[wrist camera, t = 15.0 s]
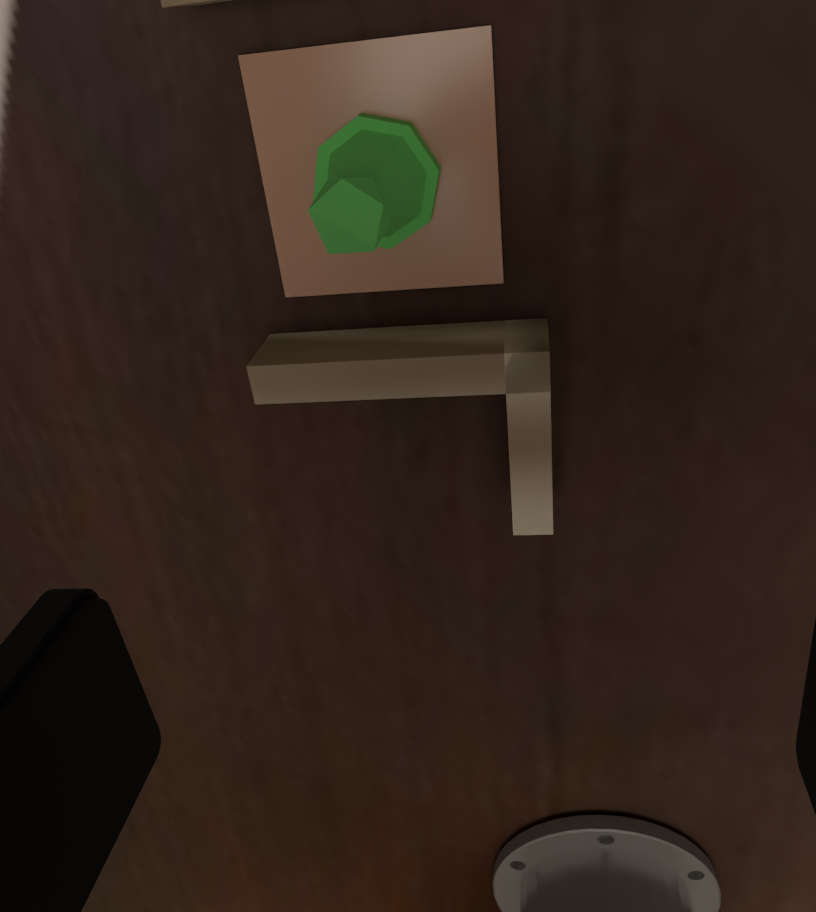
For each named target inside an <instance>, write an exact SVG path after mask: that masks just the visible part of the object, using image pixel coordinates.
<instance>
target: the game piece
mask: <svg viewBox="0 0 816 912" xmlns="http://www.w3.org/2000/svg"><path fill="white" fill-rule="evenodd" d="M440 169H441V166H440V164H439V163H438V161H437V160H436V158H435V157H434V155H433V154H432V152H431V150H430V149H429V147H428V146H427V144H426V143H425V141H424V140H423V138H422V137H421V135H420V134H419V132H418V131H417V129H416V128H415V126H414V125H413V123H412V122H408V121H403V120H398V119H393V118H387V117H382V116H377V115H372V114H367V113H361V114H359V115H358V116H357V117H356V118H354V119H353V120H352V121H351V122H349V123H348V124H347V125H346V126H344V127H343V128H342V129H341V130H339V131H338V132H337V133H336V134H334V135H333V136H332V137H331V138H329V139H328V140H327V141H326V142H324V143H323V144H322V145H321V146H319V147H318V152H317V163H316V174H315V185H314V196H313V200H314V201H313V203H312V204H311V206H310V207H309V209H308V212H309V214H310V216H311V218H312V220H313V222H314V225H315V227H316V229H317V231H318V233H319V235H320V237H321V239H322V241H323V243H324V246H325V248H326V250H327V252H328V254H340V253H357V252H374V251H375V249H376V247H381V248H386V249H392V248H393V247H395V246H396V245H398V244H399V243H401V242H402V241H403V240H405V239H406V238H408V237H409V236H411V235H412V234H414V233H415V232H416V231H418V230H419V229H421V228H422V227H424V226H425V225H426V224H428V223H429V222H430V221H431V218H432V215H433V209H434V204H435V198H436V192H437V186H438V180H439V175H440Z"/></svg>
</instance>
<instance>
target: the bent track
mask: <svg viewBox="0 0 816 912" xmlns="http://www.w3.org/2000/svg"><path fill="white" fill-rule="evenodd" d="M226 1H233V0H161V4H162V7H176V6H191V5H203V4H211V3H218V2H226ZM238 58H239V63H240V68H241V74H242V79H243V84H244V89H245V94H246V99H247V104H248V109H249V114H250V119H251V124H252V130H253V135H254V140H255V145H256V150H257V155H258V160H259V165H260V170H261V175H262V180H263V186H264V191H265V196H266V201H267V206H268V211H269V216H270V221H271V226H272V231H273V236H274V242H275V247H276V252H277V257H278V262H279V267H280V272H281V277H282V282H283V287H284V292H285V297H300V296H315V295H331V294H346V293H361V292H377V291H392V290H408V289H423V288H438V287H454V286H469V285H484V284H500V283H504V274H503V254H502V233H501V213H500V192H499V171H498V151H497V130H496V110H495V89H494V69H493V48H492V27H491V25H486V26H477V27H469V28H461V29H452V30H444V31H436V32H427V33H419V34H411V35H402V36H394V37H385V38H377V39H369V40H360V41H352V42H344V43H335V44H327V45H318V46H310V47H302V48H293V49H285V50H277V51H268V52H260V53H252V54H243V55H238ZM361 113H367V114H372V115H377V116H382V117H387V118H393V119H398V120H403V121H408V122H412V123H413V125H414V126H415V128H416V129H417V131H418V132H419V134H420V135H421V137H422V138H423V140H424V141H425V143H426V144H427V146H428V147H429V149H430V150H431V152H432V154H433V155H434V157H435V158H436V160H437V161H438V163H439V164H440V166H441V169H440V175H439V180H438V186H437V192H436V198H435V204H434V209H433V215H432V218H431V221H430V222H429V223H428V224H426V225H425V226H424V227H422V228H421V229H419V230H418V231H416V232H415V233H414V234H412V235H411V236H409V237H408V238H406V239H405V240H403V241H402V242H401V243H399V244H398V245H396V246H395V247H393V248H392V249H386V248H381V247H376V249H375V251H374V252H357V253H340V254H328V252H327V250H326V248H325V246H324V243H323V241H322V239H321V237H320V235H319V233H318V231H317V229H316V227H315V225H314V222H313V220H312V218H311V216H310V214H309V212H308V209H309V207H310V206H311V204H312V203H313V201H314V200H313V196H314V185H315V174H316V163H317V152H318V147H319V146H321V145H322V144H323V143H324V142H326V141H327V140H328V139H329V138H331V137H332V136H333V135H334V134H336V133H337V132H338V131H339V130H341V129H342V128H343V127H344V126H346V125H347V124H348V123H349V122H351V121H352V120H353V119H354V118H356V117H357V116H358V115H359V114H361ZM246 367H247V372H248V376H249V380H250V385H251V389H252V393H253V397H254V402H255V404H278V403H302V402H326V401H350V400H374V399H398V398H422V397H445V396H469V395H493V394H506V403H507V423H508V443H509V462H510V482H511V501H512V521H513V535H553V495H552V442H551V389H550V347H549V333H548V319H547V318H538V319H521V320H503V321H486V322H468V323H451V324H433V325H416V326H398V327H381V328H364V329H346V330H329V331H311V332H294V333H276V334H269V336H268V337H267V339H266V340H265V341H264V343H263V344H262V345H261V347H260V348H259V350H258V351H257V352H256V354H255V355H254V356H253V358H252V359H251V361H250V362H249V363H248V365H247V366H246Z"/></svg>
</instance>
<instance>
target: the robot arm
mask: <svg viewBox="0 0 816 912" xmlns="http://www.w3.org/2000/svg"><path fill="white" fill-rule="evenodd" d="M160 743H161V736H160V730H159V727H158V725H157V722H156V720H155V717H154V715H153V712H152V710H151V708H150V705H149V703H148V700H147V698H146V695H145V693H144V690H143V688H142V685H141V683H140V680H139V678H138V675H137V673H136V670H135V668H134V665H133V663H132V660H131V658H130V656H129V653H128V651H127V648H126V646H125V643H124V641H123V638H122V636H121V633H120V631H119V628H118V626H117V623H116V621H115V618H114V616H113V613H112V611H111V608H110V606H109V604H108V603H107V602H106V601H105V600H104V599H100V598H99V597H98V595H97V593H96V592H94V591H93V590H92V589H52V590H49V591H46V592H45V593H44V594H43V595H42V596H41V597H40V598H39V599H38V600H37V602H36V603H35V604H34V605H33V606H32V608H31V609H30V610H29V611H28V613H27V614H26V615H25V616H24V617H23V619H22V620H21V621H20V622H19V623H18V625H17V626H16V627H15V628H14V629H13V631H12V632H11V633H10V634H9V636H8V637H7V638H6V639H5V640H4V642H3V643H2V644H1V645H0V912H81V911H82V909H83V907H84V905H85V903H86V901H87V899H88V897H89V895H90V893H91V891H92V889H93V887H94V885H95V882H96V880H97V878H98V876H99V874H100V872H101V870H102V868H103V866H104V864H105V862H106V860H107V858H108V856H109V854H110V852H111V850H112V848H113V846H114V844H115V842H116V840H117V838H118V836H119V834H120V832H121V830H122V828H123V826H124V824H125V822H126V820H127V818H128V816H129V814H130V812H131V810H132V808H133V805H134V803H135V801H136V799H137V797H138V795H139V793H140V791H141V789H142V787H143V785H144V783H145V781H146V779H147V777H148V775H149V773H150V771H151V769H152V767H153V765H154V763H155V761H156V759H157V756H158V754H159V750H160ZM796 752H797V760H798V764H799V768H800V772H801V775H802V778H803V780H804V783H805V786H806V789H807V792H808V794H809V797H810V800H811V803H812V806H813V808H814V811H815V814H816V619H815V625H814V632H813V638H812V644H811V651H810V657H809V663H808V670H807V676H806V682H805V688H804V695H803V701H802V707H801V714H800V720H799V726H798V733H797V740H796ZM493 893H494V898H495V900H496V902H497V905H498V907H499V909H500V910H501V911H502V912H718V911H719V908H720V905H721V891H720V887H719V883H718V878H717V874H716V871H715V869H714V867H713V865H712V863H711V861H710V860H709V858H708V857H707V856H706V855H705V854H704V853H703V852H702V851H701V850H700V849H699V848H698V847H697V846H696V845H694V844H693V843H692V842H690V841H689V840H687V839H686V838H685V837H683V836H681V835H679V834H677V833H675V832H673V831H671V830H669V829H667V828H665V827H662V826H659V825H656V824H653V823H650V822H647V821H644V820H639V819H634V818H629V817H624V816H614V815H600V814H597V815H576V816H570V817H564V818H558V819H554V820H551V821H547V822H544V823H541V824H538V825H536V826H533V827H531V828H529V829H527V830H525V831H523V832H521V833H520V834H519V835H517V836H516V837H515V838H513V839H512V840H511V841H509V842H508V843H507V844H506V845H505V847H504V848H503V849H502V850H501V851H500V853H499V854H498V857H497V859H496V862H495V864H494V873H493Z"/></svg>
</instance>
